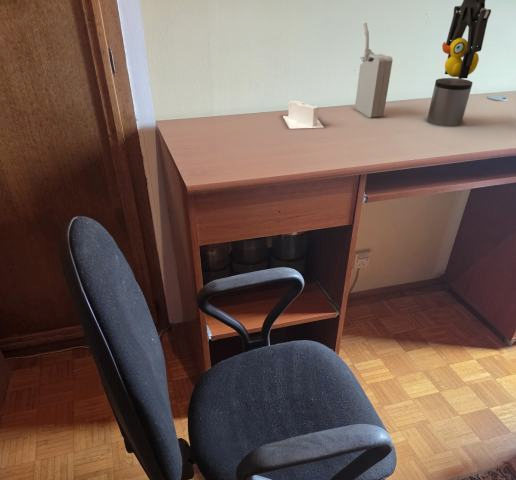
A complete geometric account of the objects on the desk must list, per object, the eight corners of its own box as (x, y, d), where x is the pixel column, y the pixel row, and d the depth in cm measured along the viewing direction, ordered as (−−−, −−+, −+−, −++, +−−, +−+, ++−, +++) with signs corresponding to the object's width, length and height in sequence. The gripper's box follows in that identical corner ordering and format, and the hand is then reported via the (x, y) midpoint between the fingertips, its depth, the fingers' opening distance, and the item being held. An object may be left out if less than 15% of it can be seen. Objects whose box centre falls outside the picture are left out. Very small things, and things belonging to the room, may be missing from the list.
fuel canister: (350, 107, 163) (360, 22, 146) (363, 106, 164) (374, 22, 147) (369, 118, 152) (383, 28, 135) (383, 117, 153) (398, 27, 136)
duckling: (435, 77, 139) (444, 39, 133) (435, 74, 143) (443, 36, 136) (474, 79, 137) (485, 39, 130) (473, 75, 141) (483, 37, 134)
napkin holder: (324, 127, 144) (326, 107, 140) (289, 128, 143) (290, 109, 139) (314, 114, 155) (315, 96, 151) (282, 116, 154) (282, 97, 150)
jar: (462, 127, 143) (473, 86, 136) (426, 124, 146) (435, 84, 138) (461, 118, 151) (471, 79, 143) (427, 115, 154) (435, 77, 146)
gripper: (446, -21, 131) (427, 71, 146) (490, -18, 117) (464, 83, 132) (468, -21, 132) (447, 69, 147) (514, -19, 118) (486, 81, 133)
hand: (455, 75), depth 140 cm, fingers closed on duckling, 6 cm apart
